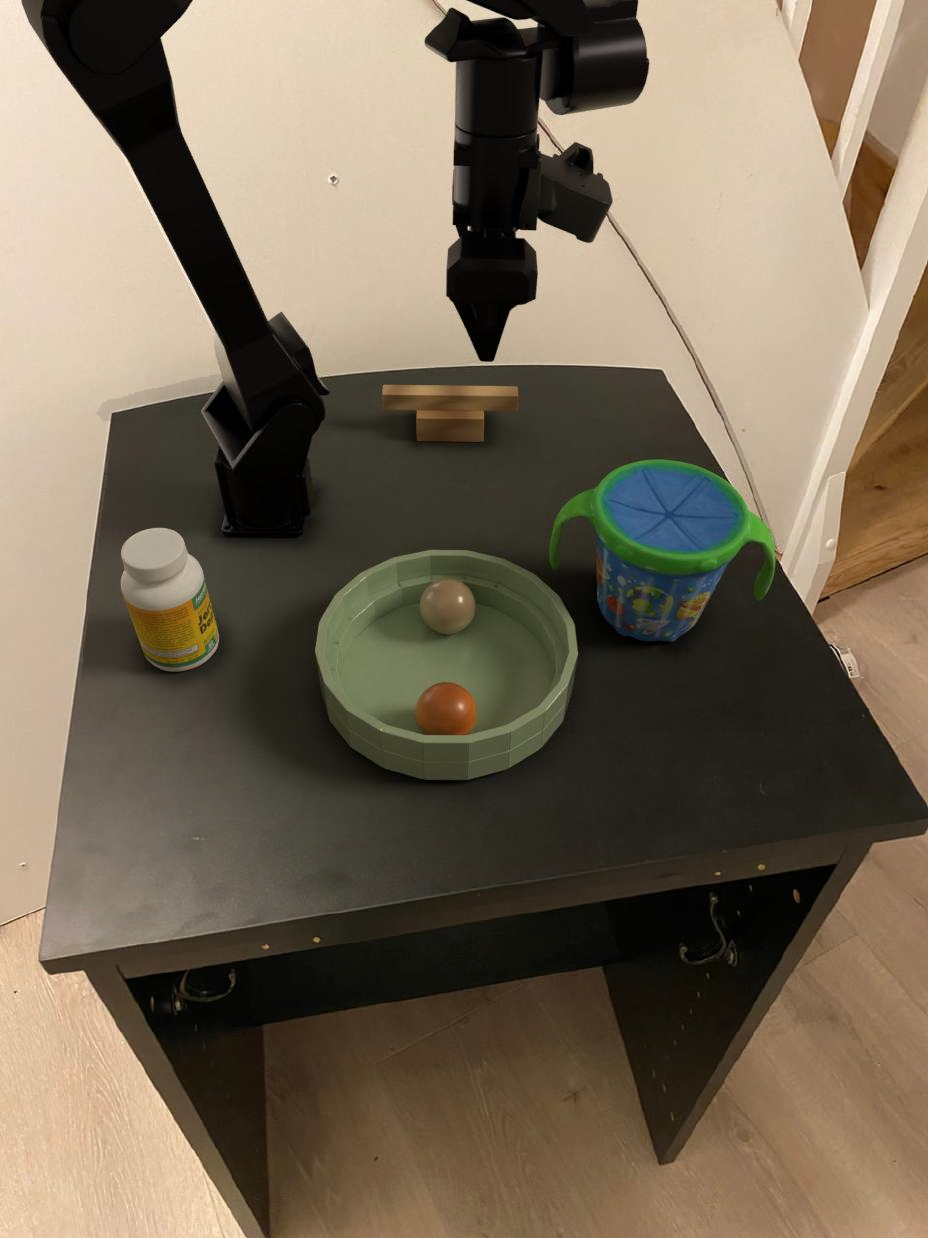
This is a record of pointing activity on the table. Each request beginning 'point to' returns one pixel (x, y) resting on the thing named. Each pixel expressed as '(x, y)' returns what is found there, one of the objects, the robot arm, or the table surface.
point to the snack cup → (663, 544)
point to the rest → (450, 425)
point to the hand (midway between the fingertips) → (486, 330)
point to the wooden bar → (450, 398)
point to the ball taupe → (447, 606)
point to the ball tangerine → (446, 710)
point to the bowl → (446, 664)
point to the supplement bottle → (168, 600)
